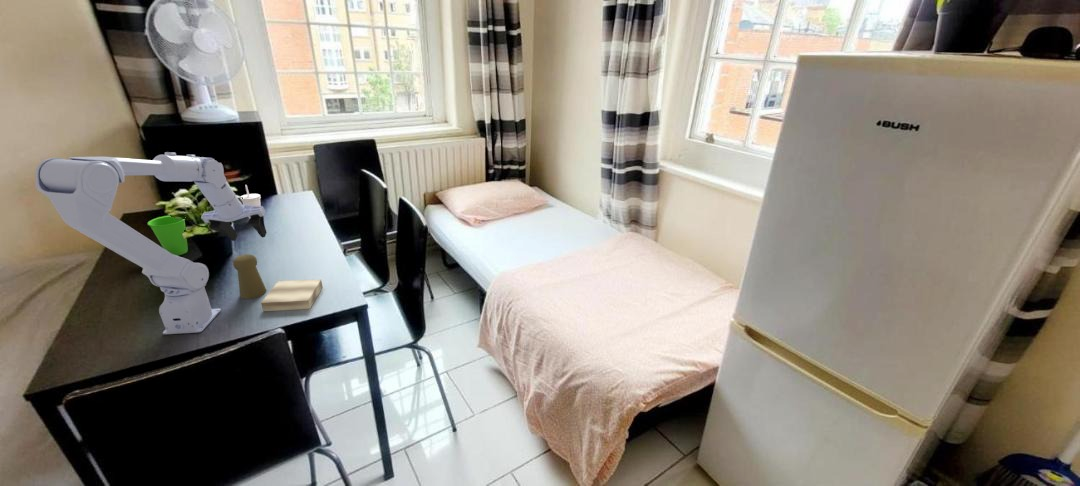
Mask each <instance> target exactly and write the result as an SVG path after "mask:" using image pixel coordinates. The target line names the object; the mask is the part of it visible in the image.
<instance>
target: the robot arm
mask: <svg viewBox="0 0 1080 486" xmlns="http://www.w3.org/2000/svg"><path fill="white" fill-rule="evenodd" d="M224 172H225V170H224V165H223V164H222V162H218V161H217V160H215V158H213V157H204V156H201V157H200V156H196V154H186V155H177V153H176V152H169V151H166V152H164V154H158V155H156V156H155V157H154V158H153V159H152V160H151V159H139V158H127V157H113V156H72V157H68V159H65V158H61V157H50V158H46V159H44V160H41V162H40V163H38V165H37V166H36V169H35V172H34V173H35V175H34V176H35V189H36V190H37V191H38V192H40V193H42V195H44V196H46V198H48V200H49V201H50V202H51V204H52V206H53V207H54V209H55V210H56V212H57V213H58V215H59V216H60V217H61V219H62V220H63V222H64V223H65V224H66V225H67V226H69V227H71V228H72V229H74V230H75V231H77V232H79V233H81V234H83V235H85V236H86V237H88V238H89V239H91V240H93V241H95V242H96V243H99V244H100V245H102V246H104V247H105V248H107V249H109V250H111V251H112V252H114V253H116V254H117V255H119V256H120V257H123V258H125V259H126V260H128V261H129V262H132V263H134V264H135V265H137V266H139V267H141V268H142V271H141V273H142V274H143V275H145V276H146V277H147V278H148V279H149V281H150V283H151V284H152V285H154V286H156V287H159V289H160V291H161V292H163V293H164V300H163V302H162V303H161V304H160V305H159V307H158V312H159V315H160V318H161V321H162V324H163V326H164V328H165V329H164V330H163V332H162V334H163V335H174V334H175V335H178V334H191V333H201V332H203V331H204V330H205V329H206V327H208V326H209V324H210V323H211V322H212V321H213V320H214V319H215V318H216V316H218V315H219V313H220V312H221V311H222V309H221V308H212V306H211V304H210V299H209V296H208V294H207V293H208V292H207V291H206V288H205V286H207V283H208V280H209V277H210V272H209V268H208V266H207V265H206V264H204V263H201V262H193V261H192V260H190V259H188V258H186V257H181V256H180V255H178V256H176V255H173V254H171V253H170V252H168V251H167V250H165V249H164V248H163V247H162V246H160V245H159V244H157V243H156V242H154V241H153V240H151V239H149V238H148V237H146V236H145V235H143V234H141V233H140V232H139V231H137V230H135V229H134V228H132V227H131V226H130V225H128V224H127V223H125V222H123V221H122V220H120V219H119V218H117V217H116V216H114V215H113V214H111V213H110V212H111V211H112V207H113V205H114V201H115V198H116V195H117V192H118V187H119V185H120V184H123V183H124V182H125V181H126V179H125V176H154V177H155V178H156V179H158V180H159V181H162V182H194V184H195V186H197V188H198V189H199V191H200V192H201V194H203V196H204V198H205V199H206V200H207V201H208V202H209V205H211V207H212V208H213V210H211V211H206V212H203V213H202V215H201V216H200V218H201V220H202V221H203V222H204V223H205V224H207V223H209V228H210V230H213V231H215V232H218V233H220V234H221V235H223V236H225V237H227V238H228V239H230V240H231V241H232V242H234V241H236V240H237V238H238V233H237V232H236V231H235V229H234V228H233V226H232V224H231V223H230V222H234V221H238V220H242V219H244V218H249V217H248V216H250V217H251V218H250V219H248V222H247V224H248V226H251V227H252V228H254V229H255V231H256V232H257V233H258V235H259V236H260V237H261V238H265V237H266V235H267V233H268V232H267V229H266V226H265V219H264V218H265V215H266V212H267V211H266V209H265V208H264V206H263V205H261V206H250V205H243V202H242V201H241V200H240V198H238V196H237V195H236V193H235V192H234V190H233V189H232V188H231V186H230V185H229V183H228V182H227V178H226V176H225V173H224Z"/></svg>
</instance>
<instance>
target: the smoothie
mask: <svg viewBox="0 0 1080 486" xmlns="http://www.w3.org/2000/svg"><path fill="white" fill-rule="evenodd" d="M248 188H249V187H248V185H247V184H245V191H246V194H243V195H241V196H240V197H243V199H242V198H240V197H239V201H240V202H241V203H242V205H250V206H262V205H261V203H262V202H261V198H262V197H261V194H259V193H250V192H249V189H248ZM247 218H248V220H250V218H251V217H250V216H248V217H247Z"/></svg>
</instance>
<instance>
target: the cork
mask: <svg viewBox="0 0 1080 486" xmlns="http://www.w3.org/2000/svg"><path fill="white" fill-rule="evenodd" d="M232 265H233V268H234V269H235V270H237V279H238V287H239V297H240V298H241V299H243V300H244V299H245V300H253V299H257V298H259V297H262V296H263V295H265V294H266V293H267V288H266V286H265V284H264V282H263V279H262V277H261V274H260V272H259V270H258V268H257V265H258V260H257V257H255V256H254V255H253V254H240V255H238V256H236V257H234V259H233V261H232Z"/></svg>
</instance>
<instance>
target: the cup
mask: <svg viewBox="0 0 1080 486" xmlns="http://www.w3.org/2000/svg"><path fill="white" fill-rule="evenodd" d="M185 220H186V219H176V218H174V217H171V216H170V215H163V216H158V217H156V218H153V219H151V220H149V221H148V222H147V226H149V227H150V228H151V230H152V231H153V234H154V235H155V236H156V238H157V240H158V242H159V243H160V245H161V247H162V248H163V249H165V250H167V251H168V252H170V253H171V254H173V255H176V256H181V255H184V254H186V253H188V249H189V248H188V240H187V239H188V238H187V239H184V238H183V237H182V233H183V232H184V230H185V228H186V222H185Z"/></svg>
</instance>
